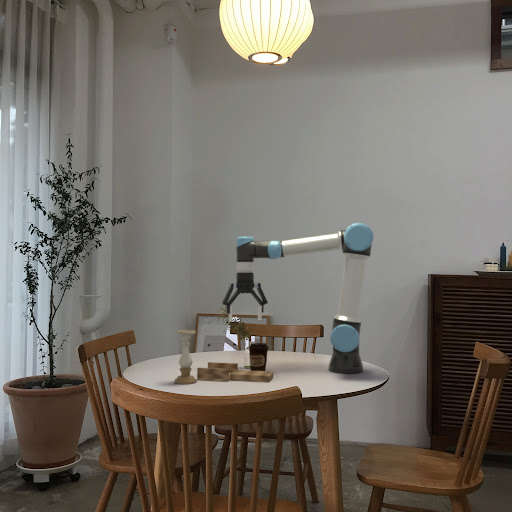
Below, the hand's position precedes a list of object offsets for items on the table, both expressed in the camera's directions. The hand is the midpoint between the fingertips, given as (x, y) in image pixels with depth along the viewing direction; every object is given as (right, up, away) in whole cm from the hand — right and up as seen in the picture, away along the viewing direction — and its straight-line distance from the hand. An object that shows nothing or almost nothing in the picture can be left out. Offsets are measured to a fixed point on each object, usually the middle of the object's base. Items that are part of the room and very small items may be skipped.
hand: (245, 320), depth 251 cm
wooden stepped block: (-3, -22, -14) cm, 26 cm away
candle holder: (-23, -22, -23) cm, 39 cm away
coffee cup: (+6, -23, -4) cm, 24 cm away
